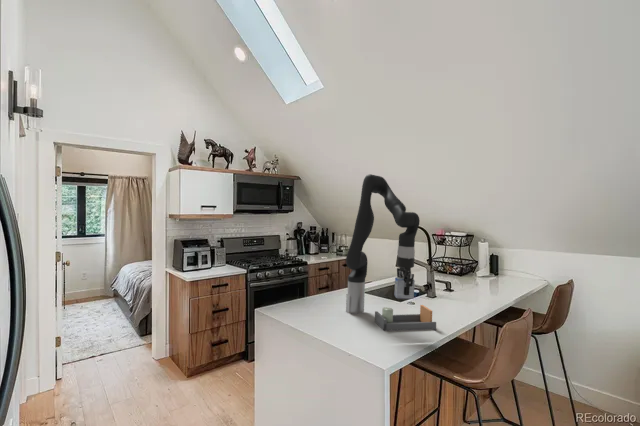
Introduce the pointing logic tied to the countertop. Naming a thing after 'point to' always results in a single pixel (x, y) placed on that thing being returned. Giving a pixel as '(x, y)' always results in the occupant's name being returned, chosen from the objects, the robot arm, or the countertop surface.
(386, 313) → the sage jar
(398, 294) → the medicine box
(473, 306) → the countertop surface
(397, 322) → the pusher lane
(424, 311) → the pusher paddle
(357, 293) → the robot arm
